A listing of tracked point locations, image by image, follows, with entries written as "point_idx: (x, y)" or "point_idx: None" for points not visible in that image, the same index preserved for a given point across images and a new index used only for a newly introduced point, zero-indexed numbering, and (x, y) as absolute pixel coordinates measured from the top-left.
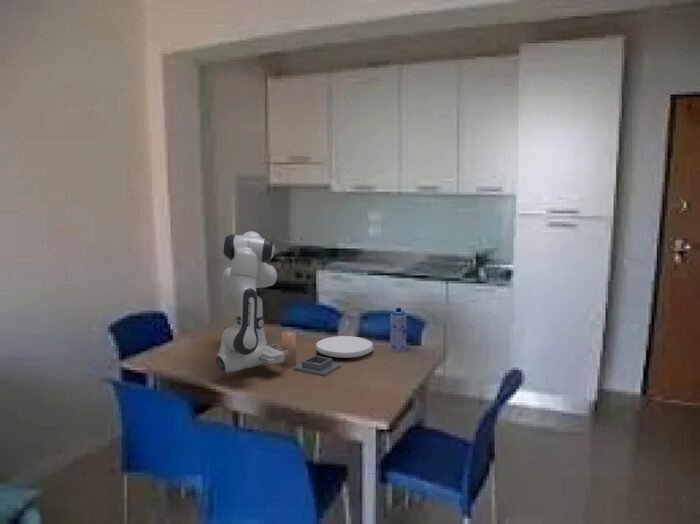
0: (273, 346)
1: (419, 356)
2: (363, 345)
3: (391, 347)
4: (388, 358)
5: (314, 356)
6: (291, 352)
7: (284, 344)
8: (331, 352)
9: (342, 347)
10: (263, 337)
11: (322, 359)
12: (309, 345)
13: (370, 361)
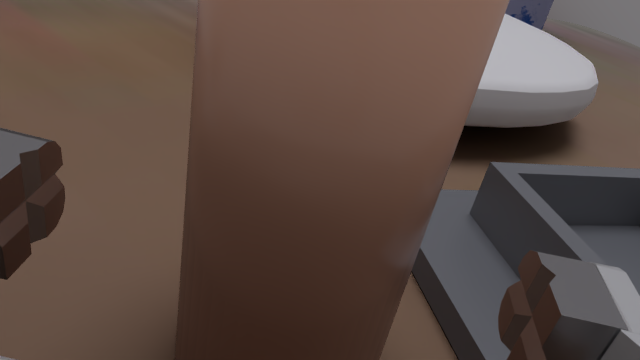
0: (3, 200)
1: (623, 57)
2: (524, 22)
3: None
4: (598, 82)
5: (517, 177)
6: (426, 228)
7: (374, 109)
8: (510, 97)
9: (516, 46)
10: None
11: (590, 193)
12: (106, 38)
13: (607, 116)
